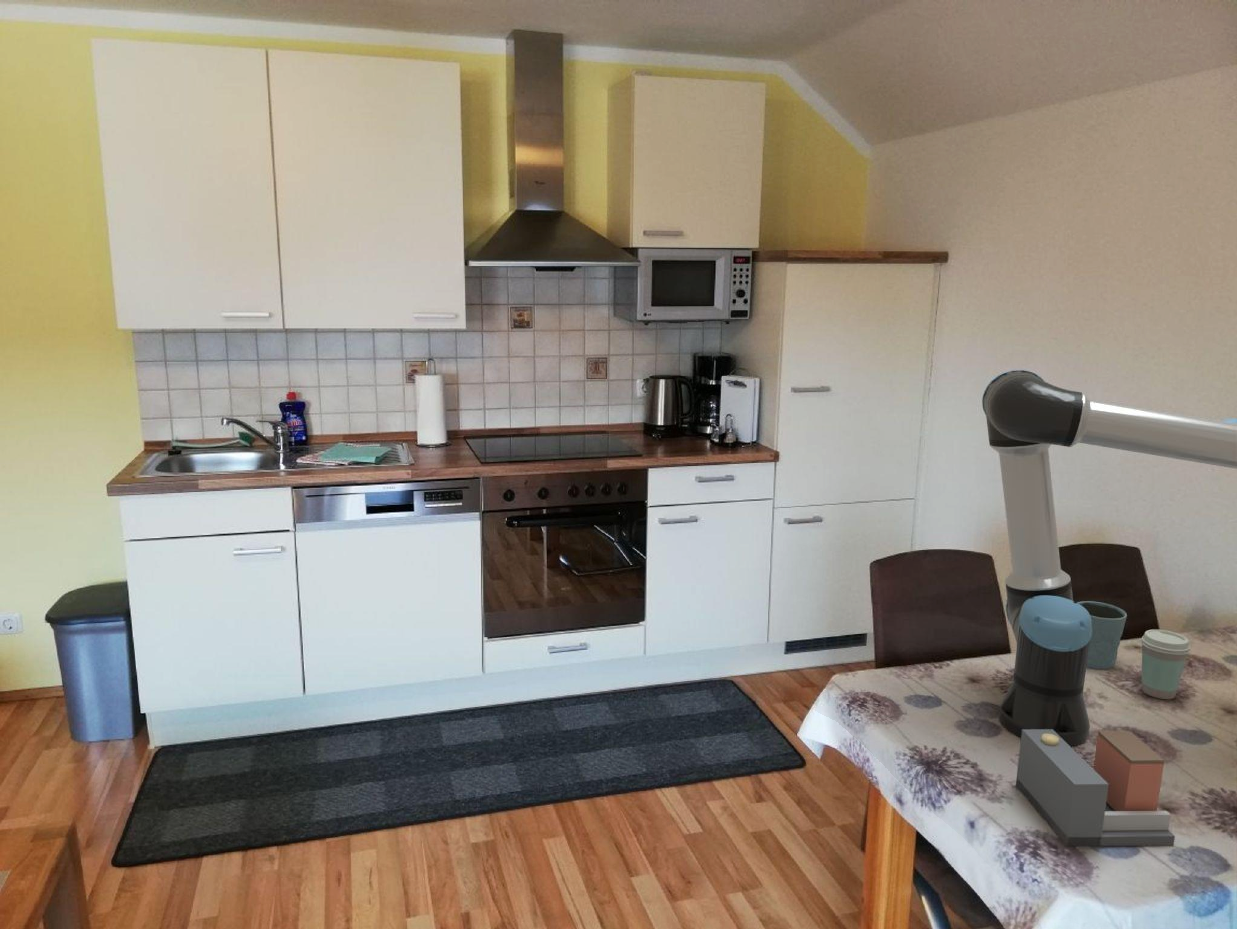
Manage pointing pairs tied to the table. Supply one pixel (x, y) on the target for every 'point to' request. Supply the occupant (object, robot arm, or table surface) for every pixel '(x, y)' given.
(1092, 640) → the teal cup
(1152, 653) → the coffee cup
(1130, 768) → the orange brown-topped block
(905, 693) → the table surface
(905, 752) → the table surface
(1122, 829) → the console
